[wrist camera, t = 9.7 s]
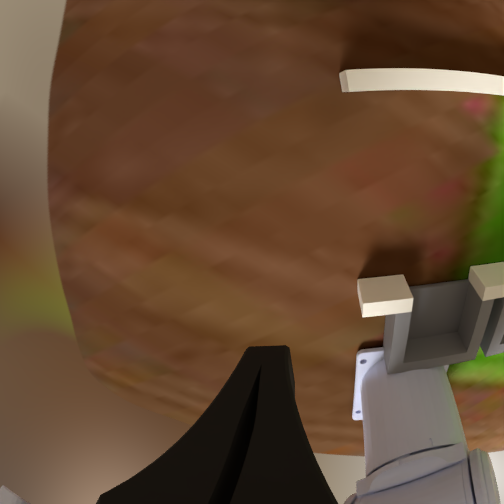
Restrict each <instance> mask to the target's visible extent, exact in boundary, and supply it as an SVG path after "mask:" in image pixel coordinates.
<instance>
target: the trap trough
mask: <svg viewBox="0 0 504 504" xmlns="http://www.w3.org/2000/svg"><path fill="white" fill-rule="evenodd" d="M339 76H340V82H341V88H342V92H355V91H375V90H443V91H462V92H475V93H486V94H495V95H504V76H498V75H491V74H483V73H475V72H465V71H454V70H440V69H416V68H377V69H353V70H345V71H343V72H341V73H339ZM358 297H359V302H360V307H361V312H362V317H371V316H381V315H386V319H385V329H384V339H383V347H384V360H385V365H386V370H387V374H395V373H402V372H406V371H411V370H418V369H428V368H434V367H439V366H445V365H450V364H455V363H460V362H464V361H469V360H474V359H475V357H476V355H477V352H478V349H479V347H480V346H481V348H482V350H483V352H484V355H485V357H487V356H491V355H495V354H499V353H502V352H504V262H499V263H491V264H484V265H477V266H470V271H469V277H468V279H465V280H458V281H451V282H443V283H435V284H427V285H419V286H411V287H409V286H408V284H407V282H406V279H405V277H404V275H403V274H402V275H393V276H383V277H373V278H363V279H358Z"/></svg>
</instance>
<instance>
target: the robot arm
mask: <svg viewBox="0 0 504 504" xmlns="http://www.w3.org/2000/svg"><path fill="white" fill-rule="evenodd" d="M363 359H365V360H363ZM448 367H449V365H445V366H439V367H434V368H428V369H418V370H411V371H406V372H402V373H395V374H387V370H386V365H385V360H384V347H379V348H370V349H362V350H360V351H358V352H357V356H356V374H355V388H354V401H353V412H352V418H353V419H354V420H363V429H364V446H365V465H366V478H364V479H361V480H358V481H357V482H356V483H357V484H356V486H357V493H355V494H352V495H351V496H350V497H349V498H348V499H347V500H346V501H345V503H344V504H500V499H499V492H498V487H497V482H496V478H495V474H494V470H493V466H492V463H491V460H490V457H489V454H488V453H487V452H485V451H481V450H480V449H478V448H477V449H475V450H473V451H471V452H470V451H469V449H468V447H467V443H466V439H465V435H464V431H463V427H462V423H461V420H460V416H459V413H458V409H457V406H456V402H455V399H454V396H453V392H452V389H451V386H450V383H449V380H448V377H447V374H446V373H447V370H448ZM0 504H30V503H28V502H27V501H25V500H24V499H22V498H21V497H19V496H18V495H16V494H15V493H14V492H12V491H11V490H9V489H8V488H7V487H5V486H2V487H1V489H0ZM96 504H338V502H337V501H336V499H335V497H334V495H333V493H332V492H331V490H330V488H329V486H328V484H327V482H326V480H325V477H324V476H323V473H322V471H321V469H320V467H319V465H318V463H317V461H316V458H315V456H314V454H313V451H312V449H311V446H310V444H309V441H308V439H307V436H306V433H305V430H304V428H303V425H302V422H301V419H300V415H299V412H298V409H297V405H296V402H295V381H294V374H293V368H292V361H291V355H290V348H289V347H287V346H286V345H283V346H256V347H248V348H247V349H246V351H245V352H244V354H243V356H242V358H241V360H240V361H239V363H238V365H237V366H236V368H235V370H234V371H233V373H232V374H231V376H230V377H229V379H228V380H227V382H226V383H225V385H224V386H223V388H222V389H221V391H220V392H219V394H218V395H217V396H216V398H215V399H214V400H213V402H212V403H211V404H210V405H209V407H208V408H207V409H206V410H205V412H204V413H203V414H202V415H201V417H200V418H199V419H198V420H197V421H196V422H195V424H194V425H193V426H192V427H191V428H190V429H189V430H188V431H187V432H186V433H185V434H184V435H183V436H182V437H181V438H180V439H179V440H178V441H177V442H176V443H175V444H174V445H173V446H172V447H171V448H169V449H168V450H167V451H166V452H165V453H164V454H163V455H161V456H160V457H159V458H158V459H156V460H155V461H154V462H153V463H151V464H150V465H148V466H147V467H146V468H144V469H143V470H142V471H140V472H139V473H137V474H136V475H135V476H133V477H132V478H130V479H129V480H127V481H125V482H123V483H121V484H120V485H118V486H116V487H114V488H113V489H111V490H109V491H107V492H105V493H103V494H101V495H100V497H99V499H98V501H97V503H96Z"/></svg>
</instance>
